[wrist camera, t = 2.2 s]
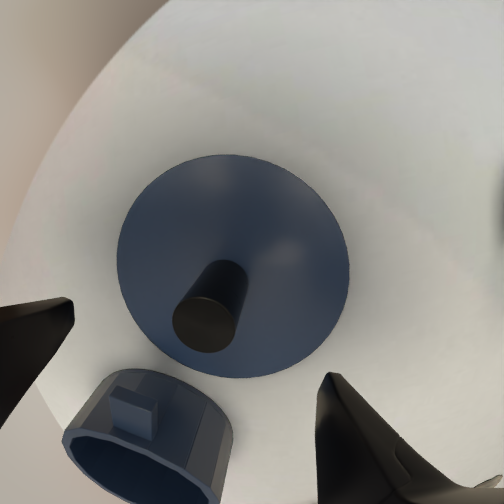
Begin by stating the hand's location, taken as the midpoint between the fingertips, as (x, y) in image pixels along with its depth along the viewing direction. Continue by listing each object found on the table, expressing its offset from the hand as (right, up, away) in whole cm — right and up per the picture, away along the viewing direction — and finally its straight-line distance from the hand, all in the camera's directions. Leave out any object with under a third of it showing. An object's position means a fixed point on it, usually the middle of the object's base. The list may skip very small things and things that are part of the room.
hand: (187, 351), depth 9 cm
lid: (+1, +2, +6) cm, 7 cm away
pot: (-5, -10, +11) cm, 16 cm away
